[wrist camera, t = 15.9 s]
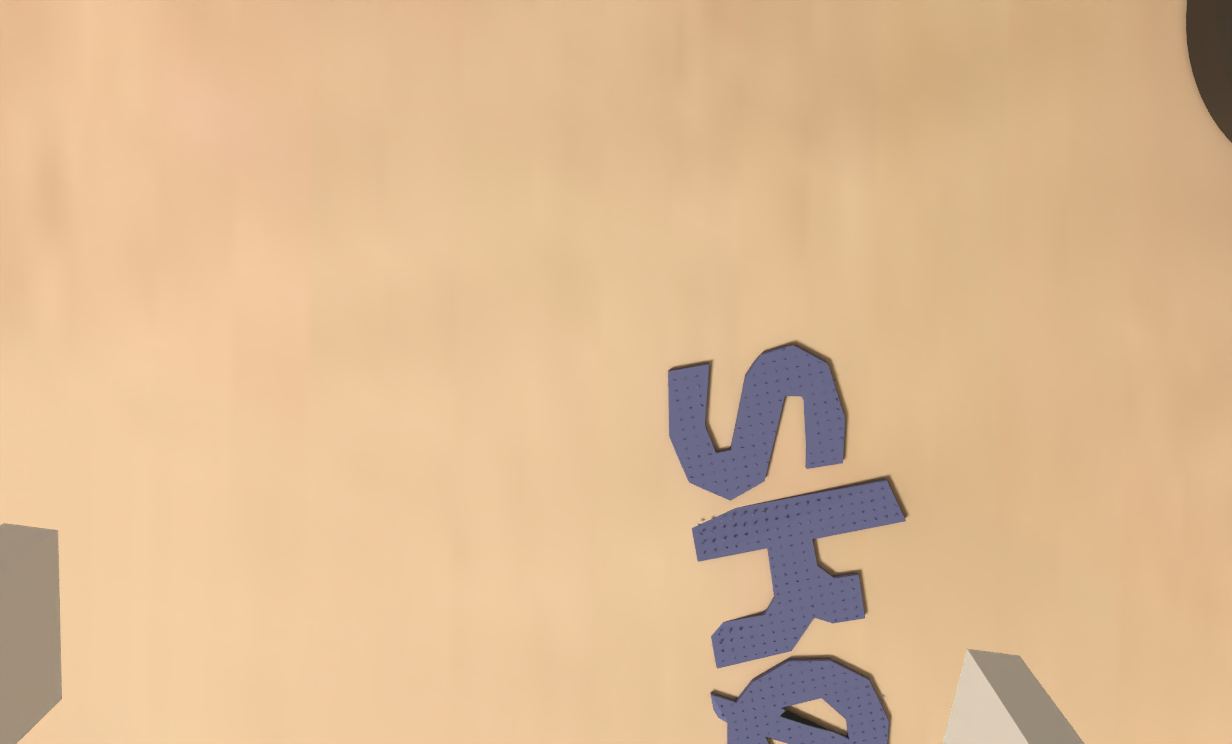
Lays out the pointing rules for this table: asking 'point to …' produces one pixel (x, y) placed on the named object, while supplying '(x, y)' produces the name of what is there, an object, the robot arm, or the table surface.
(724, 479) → the signage
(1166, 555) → the table surface
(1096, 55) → the table surface
